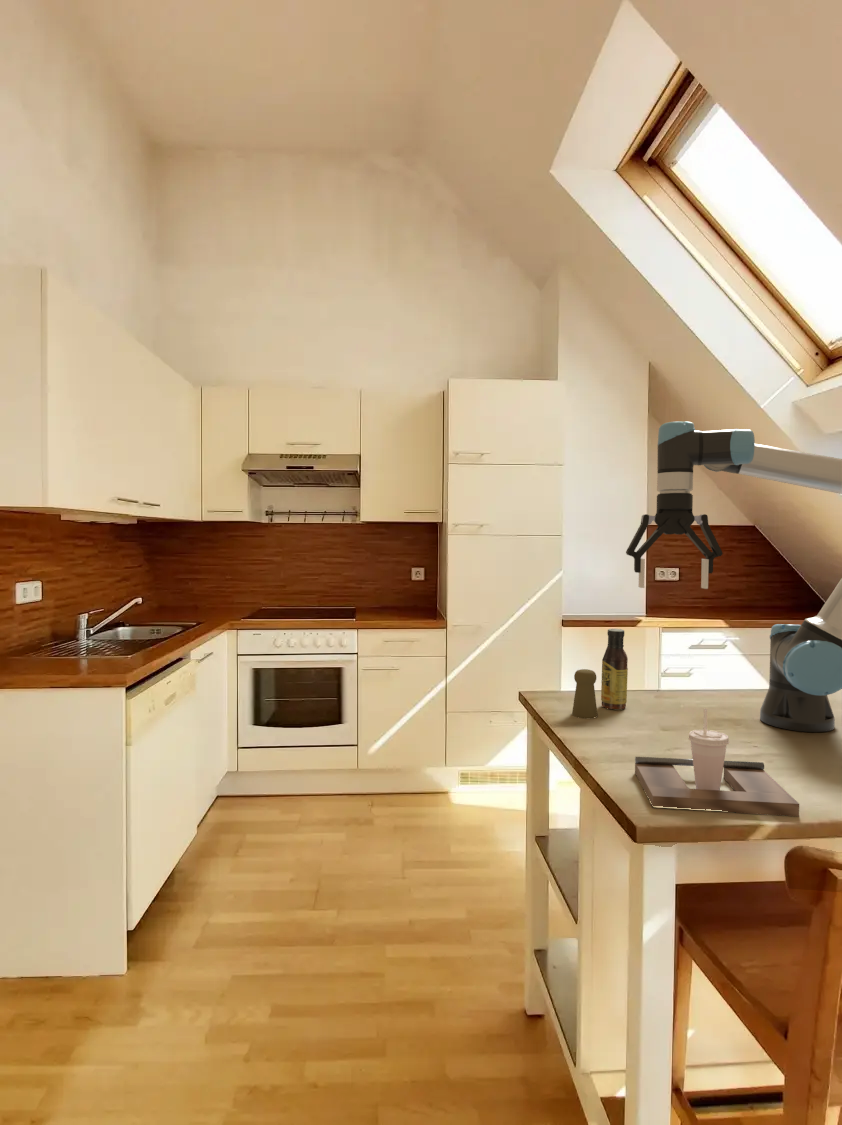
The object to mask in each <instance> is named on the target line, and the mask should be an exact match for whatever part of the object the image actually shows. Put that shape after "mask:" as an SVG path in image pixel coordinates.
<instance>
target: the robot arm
mask: <svg viewBox="0 0 842 1125" xmlns="http://www.w3.org/2000/svg"><path fill="white" fill-rule="evenodd" d="M657 435H658V437H657V438H658V439H657V469H656V470H657V472H656V474H657V475H656V476H657V478H656V491H657V492H659V493H658V494H657V495H656V513H655V515H650V514H642V515H641V518H640V520H641V521H640V525H639V526H638V528H637V530H636V531H635V534H634V535H633V538H632V540H631V541H630V543H629V545H628V547H627V549H626V551H625V554H626V555H627V556H630V557H632V558H633V561H634V564H633V571H634V573H636V574H637V573H638V588H640V589H644V588H645V570H646V569H645V568H646V566H645V565H646V558H642V557H643V556H644V555H645V553H646V552H648V550H649V549H650V548H651V547H652V546H653V545H654V543H655V542H656V541H657V540H658V539H659V538H660V537H661V536H662V535H663V534H664V535H678V536H679V535H681V536H682V535H684V534H685V536H686V537H688V538H689V540H690V541H691V542H692V543H693V545H694V546H695V547H696V548H697V549H698V550H699V552H701V554H702V555H703V556H704V558H701V571H700V572H701V573H700V574H701V576H700V578H701V580H700V583H701V584H700V589H704V590H708V589H709V574H713V572H714V559H716V558H717V557H721V556H723V554H724V553H723V551H722V549H721V546H720V544H719V543H718V540H717V538H716V536H715V534H714V533H713V531H712V528H711V527H710V524H709V518H708V515H707V514H705V513H702V514H700V515H694V513H693V502H694V501H693V499H694V495H693V494H692V493H691V492H692V491H693V490H694V466H703V467H705V469H708V470H709V471H712V472H716V473H717V472H726V473H729V474H738V475H743V476H747V477H751V478H757V479H763V480H767V481H773V482H778V483H784V484H788V485H793V486H799V487H803V488H804V487H805V488H809V489H815V490H820V491H825V492H831V493H834V494H835V493H836V494H839V495H842V458H839V457H838V458H837V457H832V456H827V455H821V454H816V453H810V452H805V451H799V450H792V449H788V448H783V447H775V446H770V445H766V444H765V445H764V444H761V443H760V444H758V443H756V442H755V434H754V432H753V430H751V429H747V428H746V429H745V428H744V429H742V428H741V429H739V428H734V429H721V430H720V429H719V430H717V429H716V430H703V431H702V430H696V428H695V424H694V422H691V421H686V420H685V421H680V420H679V421H669V422H665V423H663V424H661V425H660V426H659V428H658V434H657ZM653 522H654V523H655V524H656V525H657V528H656V529H655V530H654V531H653V533H652V534H650V536H649V537H648V538H647V539H646V540H645V542H643V544H642V545H640V546H639V548H638V545H639V543H640V541H641V540H642V538H643V535H644V534H645V532H646V531H647V528H648V527H649V526H650V525H652V523H653ZM694 522H696V524H697V525H698V526H699V528H700V529H701V531H702V533H703V535H704V537H705V539H706V541H707V542H708V546H709V547H710V549H711V550H710V549H709V548H708V546H707V545H706V544H705V543H704V542H703V541H702V540H701V538H700V536H698V535H697V533H696V532H695V531H694V529H693V528H692V527H691V526H692V524H693V523H694ZM637 548H638V549H637ZM636 549H637V551H636ZM769 640H770V642H769V644H770V648H769V650H770V651H769V683H768V690H767V692H766V694H765V697H764V700H763V702H762V704H761V706H760V709H759V711H760V712H759V720H760V721H762V722H763V723H764V724H767V725H770V726H772V727H775V728H779V729H783V730H789V731H797V732H803V733H804V732H807V733H823V732H830V731H833V730H834V729H835V723H836V722H835V720H836V719H835V716H834V713H833V709H832V706H831V704H830V700H829V697H828V695H832V694H834V693H838V692H839V691H841V690H842V577H841V578H840V580H839V582H838V583H837V585H836V586H835V588H834V590H832V593H831V594H830V595H829V597H828V598H827V599H826V601H825V602H824V604H823V605H822V607H821V609H820V610H819V612H818V613H817V615H815V616H813V617H808V618H805V619H804V620H803V621H802V623H801V624H785V623H783V624H782V623H776V624H773V625H772V626H771V629H770V635H769Z"/></svg>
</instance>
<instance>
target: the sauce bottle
mask: <svg viewBox="0 0 842 1125" xmlns="http://www.w3.org/2000/svg"><path fill="white" fill-rule="evenodd" d="M606 635H607V647H606V649H605V652H604V654H603V657H602V660H601V688H600V689H601V691H600V692H601V693H600V694H601V695H600V700H601V706H603V707H602V708H604V707H605V708H604V709H607V708H608V709H607V710H612V709H622V710H625V709H626V707H627V705H626V704H627V702H628V700H627V698H628V676H629V675H628V673H629V672H628V671H629V668H628V663H629V662H628V654H627V653H626V651H625V650H624V637H625V630H624V629H621V628H609V629H607V634H606Z"/></svg>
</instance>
